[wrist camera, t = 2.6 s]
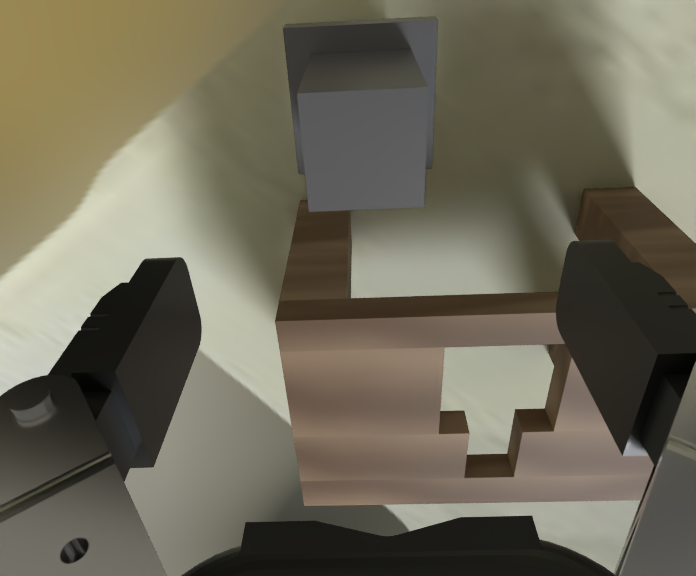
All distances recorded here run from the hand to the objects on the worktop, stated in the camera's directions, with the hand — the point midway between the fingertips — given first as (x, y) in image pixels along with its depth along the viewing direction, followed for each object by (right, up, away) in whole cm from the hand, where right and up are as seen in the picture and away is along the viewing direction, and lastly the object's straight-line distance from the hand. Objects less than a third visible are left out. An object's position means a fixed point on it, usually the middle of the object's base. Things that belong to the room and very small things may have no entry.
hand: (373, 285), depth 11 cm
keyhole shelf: (+7, 0, +24) cm, 25 cm away
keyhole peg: (0, +12, +17) cm, 20 cm away
